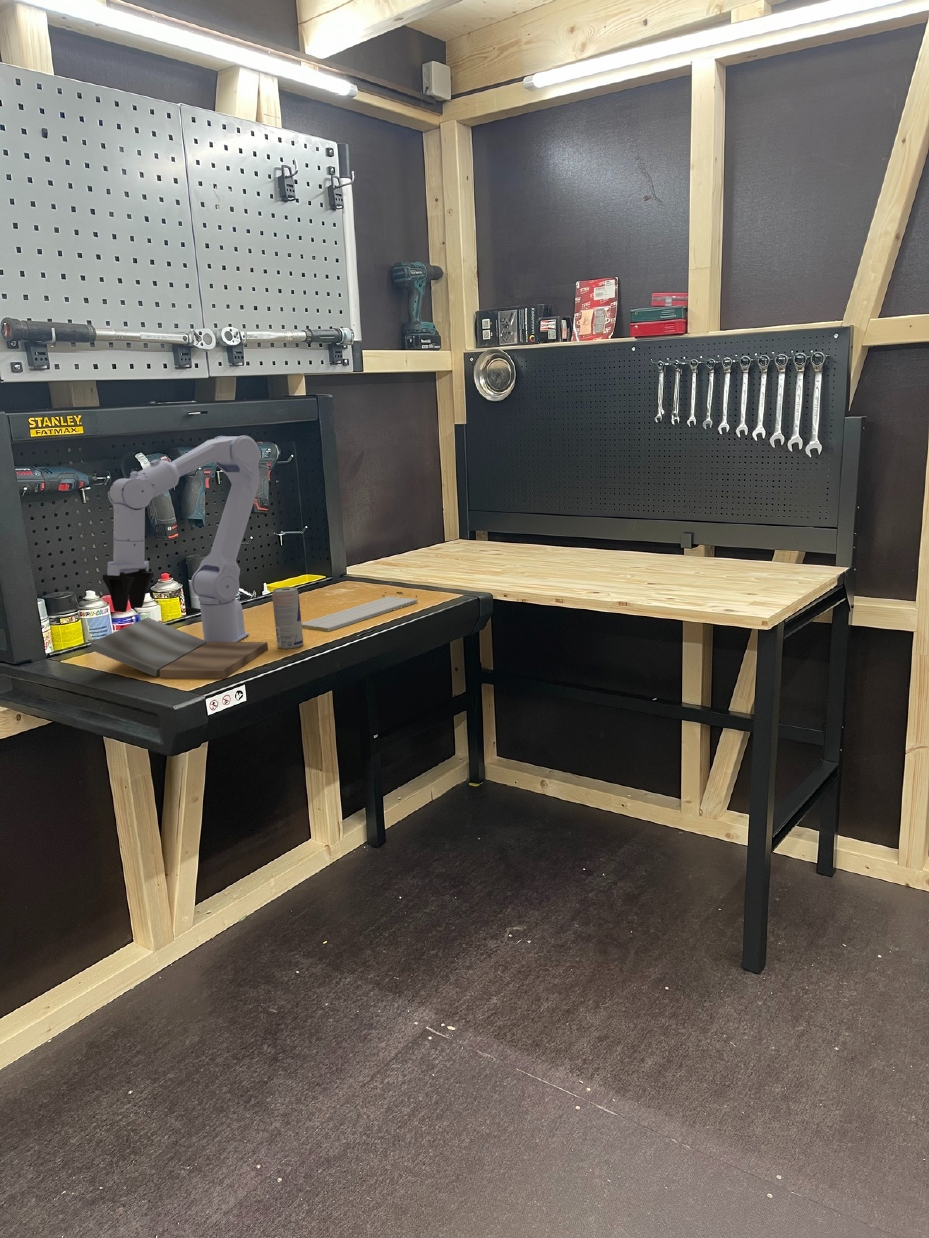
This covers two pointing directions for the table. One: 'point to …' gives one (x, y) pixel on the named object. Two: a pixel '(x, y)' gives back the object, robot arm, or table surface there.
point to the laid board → (214, 660)
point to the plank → (147, 645)
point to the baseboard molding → (357, 613)
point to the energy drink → (287, 617)
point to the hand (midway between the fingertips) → (128, 609)
